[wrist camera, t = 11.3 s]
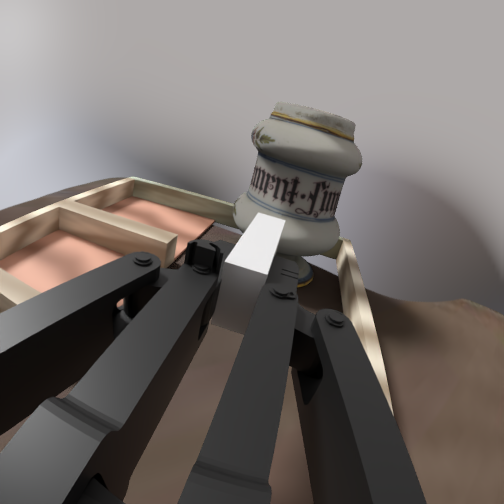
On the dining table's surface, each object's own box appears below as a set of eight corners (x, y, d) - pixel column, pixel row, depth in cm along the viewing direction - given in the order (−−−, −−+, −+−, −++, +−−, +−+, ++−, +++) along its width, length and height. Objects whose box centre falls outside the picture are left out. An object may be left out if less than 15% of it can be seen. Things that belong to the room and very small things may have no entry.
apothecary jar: (200, 249, 35) (237, 89, 28) (267, 237, 44) (302, 112, 37) (280, 307, 28) (343, 110, 21) (338, 278, 37) (388, 137, 30)
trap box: (370, 466, 14) (397, 441, 13) (-44, 282, 17) (-51, 252, 15) (343, 258, 44) (350, 240, 42) (130, 194, 46) (132, 176, 45)
